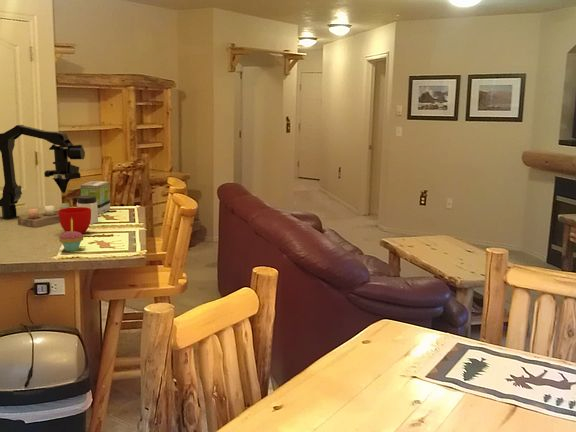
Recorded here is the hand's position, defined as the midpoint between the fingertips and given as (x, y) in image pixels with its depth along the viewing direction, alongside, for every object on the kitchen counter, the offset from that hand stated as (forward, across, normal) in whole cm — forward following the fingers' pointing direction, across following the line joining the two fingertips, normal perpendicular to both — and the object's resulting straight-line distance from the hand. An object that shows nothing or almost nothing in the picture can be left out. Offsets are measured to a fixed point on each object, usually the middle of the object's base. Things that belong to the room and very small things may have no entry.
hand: (63, 192), depth 281 cm
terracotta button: (+9, 0, +17) cm, 19 cm away
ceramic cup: (+12, -28, +18) cm, 36 cm away
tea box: (+12, 0, -19) cm, 22 cm away
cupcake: (+12, -51, +38) cm, 65 cm away
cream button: (+9, 0, +8) cm, 12 cm away
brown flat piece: (+12, 0, +8) cm, 15 cm away
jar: (+12, -17, +1) cm, 21 cm away
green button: (+9, 0, 0) cm, 9 cm away
